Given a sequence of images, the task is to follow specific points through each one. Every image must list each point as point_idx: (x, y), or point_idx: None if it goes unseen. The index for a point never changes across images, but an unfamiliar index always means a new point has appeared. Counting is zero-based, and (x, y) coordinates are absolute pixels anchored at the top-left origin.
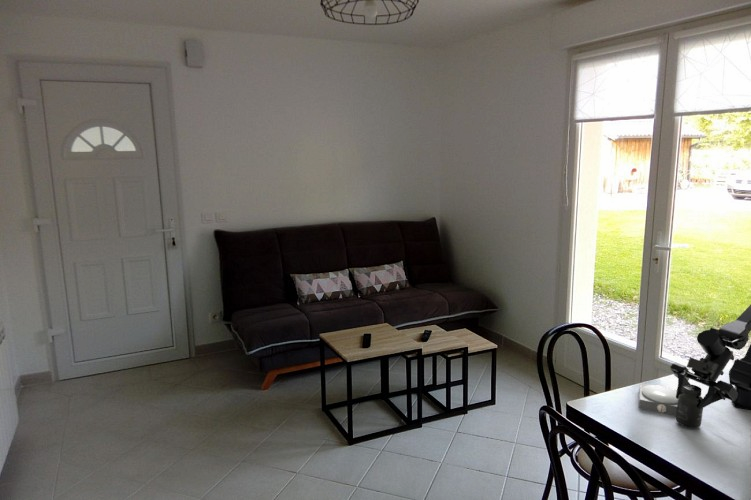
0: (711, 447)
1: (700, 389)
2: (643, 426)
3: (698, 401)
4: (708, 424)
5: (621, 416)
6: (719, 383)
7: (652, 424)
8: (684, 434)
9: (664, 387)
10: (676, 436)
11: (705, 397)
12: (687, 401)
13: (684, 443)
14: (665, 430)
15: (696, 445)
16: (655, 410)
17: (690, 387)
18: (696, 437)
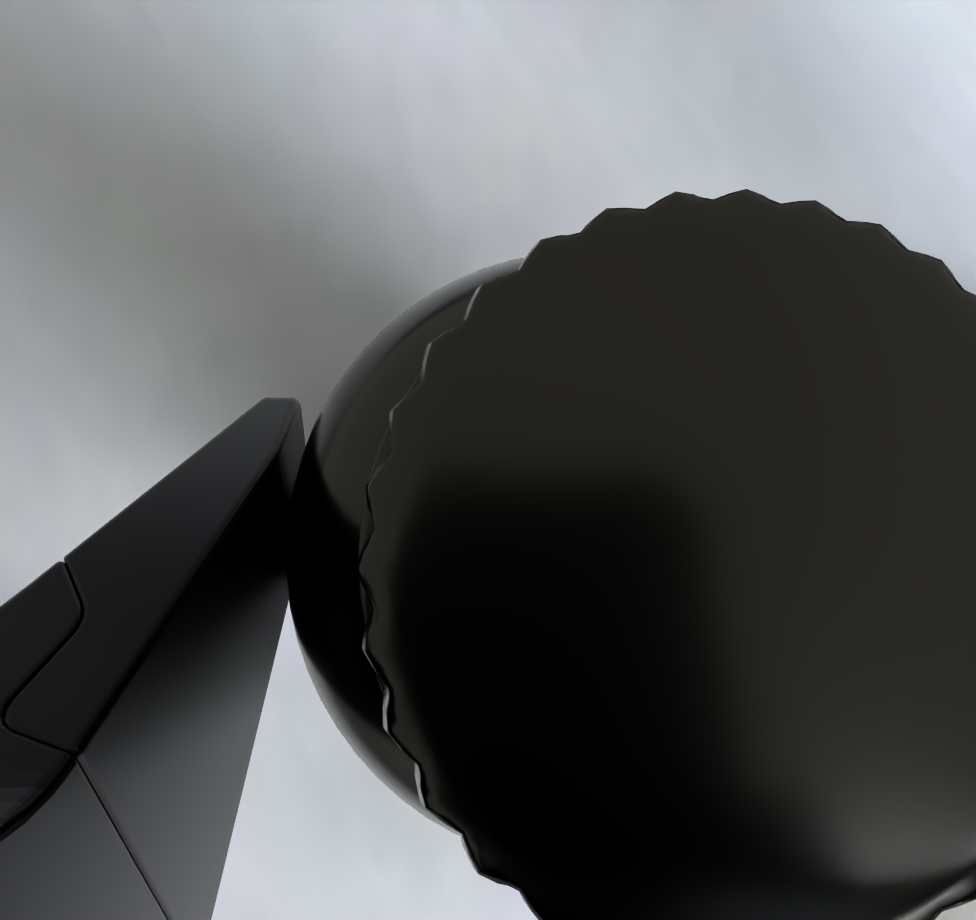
0: (28, 297)
1: (434, 736)
2: (701, 43)
3: (324, 448)
4: (387, 812)
5: (950, 28)
6: None
7: (690, 170)
8: (374, 290)
9: None
10: (389, 166)
11: (126, 578)
12: (511, 262)
13: (247, 103)
14: (535, 178)
15: (149, 182)
16: None
17: (796, 474)
18: (261, 354)
